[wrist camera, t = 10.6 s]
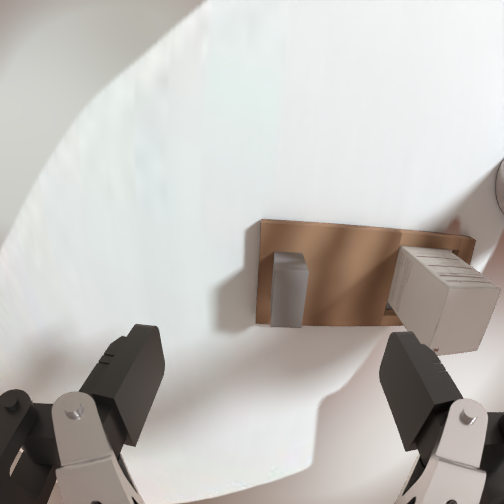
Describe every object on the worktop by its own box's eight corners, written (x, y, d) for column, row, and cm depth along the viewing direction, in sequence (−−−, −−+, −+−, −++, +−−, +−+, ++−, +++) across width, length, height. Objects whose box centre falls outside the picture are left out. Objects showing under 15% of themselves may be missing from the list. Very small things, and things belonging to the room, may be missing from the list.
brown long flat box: (469, 236, 32) (498, 254, 25) (446, 317, 36) (468, 343, 30) (261, 219, 32) (260, 237, 26) (255, 316, 36) (253, 349, 30)
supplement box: (429, 297, 35) (477, 353, 23) (381, 296, 35) (422, 359, 23) (443, 244, 32) (503, 288, 20) (394, 239, 33) (449, 287, 21)
